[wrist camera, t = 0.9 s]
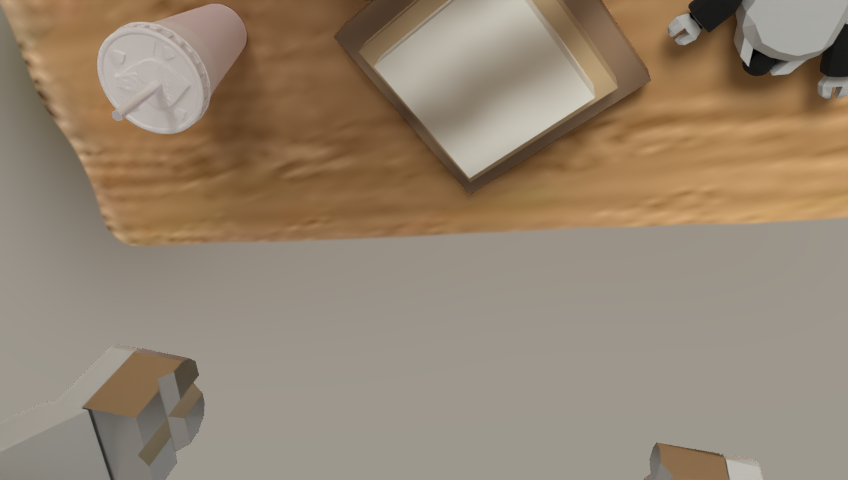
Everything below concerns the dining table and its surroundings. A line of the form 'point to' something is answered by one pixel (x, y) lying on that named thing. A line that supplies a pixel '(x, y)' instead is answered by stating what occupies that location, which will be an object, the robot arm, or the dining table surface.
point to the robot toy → (778, 35)
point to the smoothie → (169, 66)
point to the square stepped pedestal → (493, 73)
